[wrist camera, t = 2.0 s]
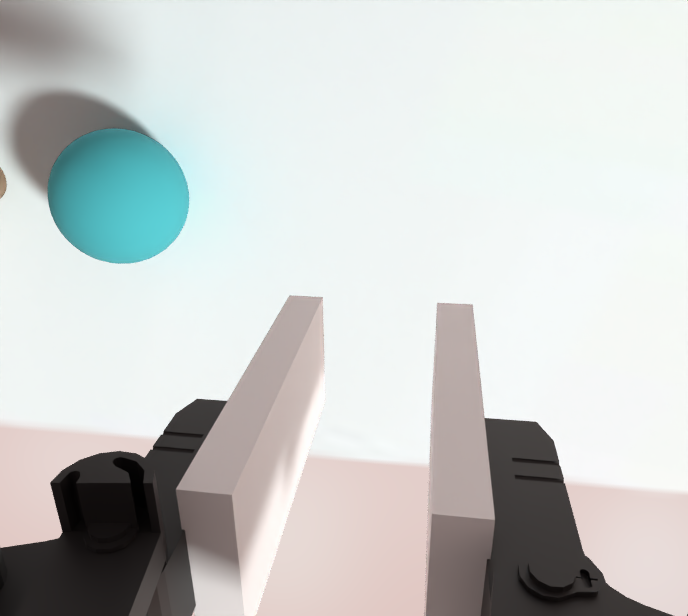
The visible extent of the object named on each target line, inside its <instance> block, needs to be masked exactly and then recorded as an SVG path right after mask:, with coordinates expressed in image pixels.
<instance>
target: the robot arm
mask: <svg viewBox="0 0 688 616" xmlns="http://www.w3.org/2000/svg"><path fill="white" fill-rule="evenodd" d="M324 403H325V373H324V334H323V297H308V296H289V297H288V299H287V301H286V302H285V304H284V306H283V308H282V309H281V311H280V313H279V314H278V316H277V318H276V320H275V321H274V323H273V325H272V326H271V328H270V330H269V331H268V333H267V335H266V337H265V338H264V340H263V342H262V343H261V345H260V347H259V348H258V350H257V352H256V354H255V355H254V357H253V359H252V360H251V362H250V364H249V366H248V367H247V369H246V371H245V372H244V374H243V376H242V377H241V379H240V381H239V383H238V384H237V386H236V388H235V389H234V391H233V393H232V394H231V396H230V398H229V400H228V401H219V400H206V399H197V400H195V401H194V402H192V403H191V404H189V405H188V406H186V407H185V408H183V409H182V410H180V411H179V412H177V413H176V414H175V416H174V417H173V419H172V420H171V421H170V423H169V424H168V426H167V427H166V428H165V430H164V433H163V435H161V436H160V437H159V438H158V440H157V441H156V443H155V444H154V446H153V450H150V451H149V453H148V454H147V456H146V457H145V458H144V457H142V456H140V455H138V454H136V453H129V452H121V451H117V452H109V453H99V454H96V455H93V456H90V457H87V458H84V459H81V460H79V461H77V462H76V463H74V464H72V465H70V466H69V467H67V468H65V469H64V470H62V471H61V472H60V474H58V476H56V477H55V478H54V479H53V481H51V483H50V484H51V488H52V491H53V496H54V500H55V504H56V508H57V512H58V516H59V519H60V523H61V527H62V532H63V533H62V534H61V536H60V538H58V539H54V540H49V541H45V542H38V543H31V544H24V545H17V546H11V547H4V548H0V616H192V613H193V611H194V615H195V616H256V614H257V611H258V608H259V605H260V602H261V599H262V595H263V592H264V589H265V586H266V583H267V580H268V577H269V573H270V571H271V567H272V564H273V561H274V558H275V555H276V552H277V549H278V546H279V543H280V540H281V537H282V533H283V530H284V527H285V524H286V521H287V518H288V514H289V512H290V509H291V506H292V502H293V499H294V496H295V493H296V490H297V487H298V484H299V481H300V478H301V474H302V471H303V468H304V465H305V462H306V459H307V456H308V453H309V450H310V447H311V444H312V440H313V437H314V434H315V431H316V428H317V425H318V422H319V419H320V416H321V413H322V409H323V406H324ZM427 523H428V524H427V551H426V552H427V554H426V581H425V612H424V616H673V615H670V614H667V613H665V612H662V611H659V610H656V609H653V608H651V607H648V606H645V605H643V604H640V603H638V602H636V601H634V600H632V599H629V598H627V597H625V596H624V595H622V594H621V593H619V592H618V591H616V590H614V589H613V588H612V587H610V586H609V585H608V584H607V583H606V582H605V579H604V576H603V574H602V572H601V571H600V570H599V569H598V568H597V567H596V566H595V565H594V564H593V562H592V561H591V560H590V559H589V558H588V557H586V556H585V554H584V552H583V549H582V546H581V542H580V538H579V534H578V531H577V527H576V524H575V519H574V516H573V512H572V508H571V505H570V501H569V497H568V493H567V490H566V486H565V483H564V478H563V475H562V471H561V467H560V466H559V460H558V456H557V452H556V448H555V445H554V441H553V440H552V439H551V437H550V436H549V435H548V434H547V433H546V432H545V431H544V430H543V429H542V428H541V427H540V425H539V424H538V423H537V422H530V421H516V420H503V419H489V418H484V409H483V399H482V390H481V380H480V371H479V361H478V351H477V342H476V332H475V323H474V313H473V305H470V304H450V303H437V318H436V335H435V353H434V371H433V388H432V406H431V434H430V463H429V494H428V522H427ZM687 616H688V615H687Z"/></svg>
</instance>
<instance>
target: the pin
mask: <svg viewBox="0 0 688 616" xmlns="http://www.w3.org/2000/svg"><path fill="white" fill-rule="evenodd" d="M5 191H6V178H5V175H4V173H3V171H2V169H1V168H0V198H2V196H3V195H4V193H5Z"/></svg>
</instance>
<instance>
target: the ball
mask: <svg viewBox="0 0 688 616" xmlns="http://www.w3.org/2000/svg"><path fill="white" fill-rule="evenodd" d="M48 202H49V207H50V211H51V214H52V217H53V219H54V221H55V223H56V225H57V227H58V229H59V230H60V232H61V233H62V234H63V235H64V237H65V238H66V239H67V240H68V241H69V242H70V243H71V244H72V245H73V246H75V247H76V248H77V249H79V250H80V251H82V252H83V253H85V254H87V255H89V256H91V257H93V258H95V259H98V260H102V261H106V262H110V263H118V264H119V263H135V262H140V261H143V260H146V259H149V258H151V257H153V256H155V255H157V254H159V253H161V252H162V251H163V250H165V249H166V248H167V247H168V246H169V245H170V244H171V243H172V242H173V241H174V240H175V239H176V238H177V236H178V235H179V233H180V231H181V230H182V228H183V226H184V224H185V221H186V218H187V214H188V208H189V191H188V186H187V182H186V179H185V176H184V174H183V171H182V169H181V168H180V166H179V164H178V162H177V161H176V160H175V158H174V157H173V156H172V155H171V154H170V152H169V151H168V150H167V149H166V148H164V147H163V146H162V145H161V144H160V143H158V142H157V141H155V140H154V139H152V138H150V137H148V136H146V135H144V134H141V133H138V132H136V131H131V130H127V129H117V128H112V129H102V130H97V131H93V132H90V133H88V134H85V135H83V136H81V137H79V138H78V139H76V140H75V141H73V142H72V143H71V144H70V145H68V146H67V147H66V148H65V149H64V150H63V151H62V153H61V154H60V155H59V157H58V158H57V160H56V162H55V163H54V165H53V168H52V170H51V173H50V177H49V181H48Z"/></svg>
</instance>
